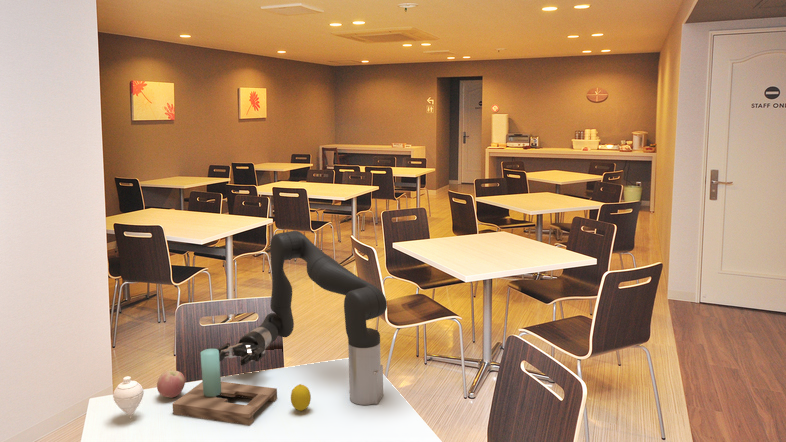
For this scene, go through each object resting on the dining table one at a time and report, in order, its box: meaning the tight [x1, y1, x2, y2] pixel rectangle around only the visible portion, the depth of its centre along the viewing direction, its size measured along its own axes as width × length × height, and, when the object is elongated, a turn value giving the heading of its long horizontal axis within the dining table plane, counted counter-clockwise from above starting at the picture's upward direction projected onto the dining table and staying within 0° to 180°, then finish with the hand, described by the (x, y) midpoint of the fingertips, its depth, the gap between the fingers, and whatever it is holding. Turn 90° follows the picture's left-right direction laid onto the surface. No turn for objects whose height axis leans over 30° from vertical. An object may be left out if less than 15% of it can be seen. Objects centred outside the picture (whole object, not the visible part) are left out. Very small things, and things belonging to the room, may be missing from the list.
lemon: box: [290, 383, 312, 412], centre depth 167 cm, size 6×6×8 cm
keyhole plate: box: [172, 381, 278, 426], centre depth 171 cm, size 24×16×3 cm, turn 74°
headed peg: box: [200, 348, 223, 398], centre depth 171 cm, size 5×5×16 cm
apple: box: [156, 369, 186, 399], centre depth 176 cm, size 8×8×8 cm
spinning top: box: [112, 375, 145, 419], centre depth 164 cm, size 8×8×12 cm
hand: (229, 361), depth 180 cm, fingers open, 8 cm apart
